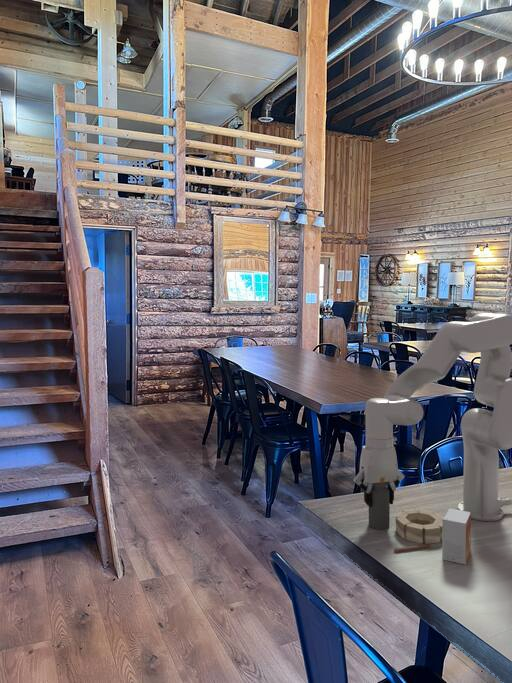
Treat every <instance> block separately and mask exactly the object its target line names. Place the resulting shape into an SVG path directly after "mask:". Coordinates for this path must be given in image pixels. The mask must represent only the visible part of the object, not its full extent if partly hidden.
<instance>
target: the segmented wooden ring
mask: <svg viewBox="0 0 512 683" xmlns="http://www.w3.org/2000/svg"><path fill="white" fill-rule="evenodd" d="M443 518H444V517H443V516H442V515H440V514H438V513H437V512H434V511H430V510H428V509H427V510H426V509H421V508H418V509H416V508H412V509H411V508H410V509H402V510H401V511H399V512H398V513H397V515H396V516H395V532H396V533H397V535H399V536H400V538H402V539H405V540H406V541H409V542H413V543H418V544H420V545H423V544H430V545H431V544H435V543H440V542H442V519H443Z"/></svg>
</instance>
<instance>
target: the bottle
mask: <svg viewBox="0 0 512 683" xmlns="http://www.w3.org/2000/svg"><path fill="white" fill-rule="evenodd" d="M384 480H385V477H382V478H380V482H379V483H373V485H372V488H371V491H370V492H371V493H372V507H369V506H368V526H369V527H370V528H372V529H374V530H379V531H381V530H382V531H384V530H387V529H389V528H390V521H391V520H390V516H391V515H390V511H391V510H390V506H391V504H390V491H389V489H388V488H387V487H388V482H384Z"/></svg>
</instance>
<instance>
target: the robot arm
mask: <svg viewBox="0 0 512 683" xmlns="http://www.w3.org/2000/svg"><path fill="white" fill-rule="evenodd" d="M511 345H512V314H509V313H508V314H506V313H489V312H487V313H485V312H484V313H477V314H474V315H473V316H472V317H470V320H469V322H468V321H458V320H457V321H456V320H455V321H449V322H446V323H444V324H443V325H442V326H441V327H440V328H439V329H438V331H437V332H436V334H435V335H434V337H433V338H432V340H431V342H430V343H429V345H428V346H427V348H426V349H425V350H424V351H423V353H422V355H421V356H420V358H419V359H418V360H417V361H416V362H415V363H413V365H411V366H409V367H408V368H407V369H406V370H405V371H403V372H402V373H401V374H400V375H398V376H397V377H396V378H395V379H394V380H393V382H392V384H390V386H389V388H388V389H387V391H386V392H385V394H384V396H383V398H382V397H373V398H370V399H368V400H366V402H365V445H363V446H362V449H361V454H360V460H359V471H358V473H357V474H356V475H355V477H354V478H353V482H354V483H355V484H356V485H357V486H358V487H360V488H361V489H362V491H363V501H364V504H365V505H366V506H368V508H369V507H372V493H371V492H370V491H371V488H372V485H373V483H379V482H380V478H382V477H385V480H384V482H388V486H386V487H387V488H388V489H389V491H390V505H394V500H395V491H396V489H397V487H398V486H399V485H400V484H401V482H402V481H403V480H404V478H405V475H404V474H403V473H402V471H401V470H400V469H399V468H398V467H399V466H398V458H397V451H396V447H395V446H394V442H397V441H398V438H397V437H396V436H394V432H393V431H394V425H395V426H396V425H397V426H414V425H416V424H418V423H419V422H421V420H422V419H423V417H424V408H423V407H422V405H421V404H420V403H419V402H418V401H416V400H415V399H412V398H411V397H412V396H413V395H414V394H415V393H416V392H417V391H418V390H419V389H421V388H422V387H424V386H426V385H429V384H432V383H435V382H438V381H440V380H443V379H444V378H445V377H446V376H447V374H448V373H449V371H450V370H451V368H452V367H453V366H454V364H455V362H456V361H457V359H458V358H459V356H460V355H461V354H462V353H467V354H477V353H480V360H479V366H478V370H477V374H476V379H475V384H474V388H473V396H474V398H475V400H476V401H477V402H479V403H480V404H481V405H482V404H483V405H486V406H487V407H488V406H489V407H491V408H493V411H492V410H488V409H485V408H479V407H477V408H476V407H475V408H470V409H468V410H467V411H465V413H464V414H463V416H462V417H461V421H460V429H461V435H462V436H461V437H462V441H463V483H462V484H463V486H462V487H463V489H462V490H463V491H462V492H463V494H462V496H463V497H462V499H463V500H462V501H461V502H459V503H458V504H457V510H461V511H467V512H471V520H472V519H473V520H476V521H480V522H481V521H482V522H495V521H499V520H502V519H503V518H504V511H503V509H502V508H503V507H504V506H512V499H511V498H509V497H508V498H502V497H501V496H499V467H500V466H499V464H500V463H499V462H500V461H499V460H500V458H499V450H501V451H504V450H505V451H506V450H509V449H511V448H512V377H510V376H511V370H512V349H511ZM361 480H364V482H362V481H361Z"/></svg>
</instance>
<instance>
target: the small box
mask: <svg viewBox="0 0 512 683" xmlns="http://www.w3.org/2000/svg"><path fill="white" fill-rule="evenodd" d="M471 534H472V519H471V512H467V511H461V510H458V509H454V508H450V507H449V508H448V509H447V512H446V513H445V515H444V517H443V519H442V541H441V543H442V544H441V546H442V547H441V548H442V549H441V550H442V553H441V554H442V555H441V557H442V558H441V560H443V561H449V562H453V563H456V564H461V565H465V566H466V564H467V560H468V558H469V556H470V554H471V543H472V541H471V540H472V539H471V538H472V535H471Z"/></svg>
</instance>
